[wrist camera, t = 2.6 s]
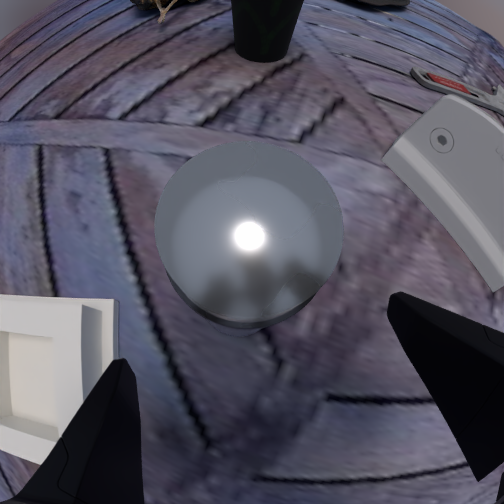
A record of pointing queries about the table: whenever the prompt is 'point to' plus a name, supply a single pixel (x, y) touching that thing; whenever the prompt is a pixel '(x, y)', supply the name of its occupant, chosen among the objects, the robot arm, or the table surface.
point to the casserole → (386, 2)
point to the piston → (248, 234)
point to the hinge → (458, 177)
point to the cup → (264, 27)
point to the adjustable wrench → (460, 89)
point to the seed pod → (155, 6)
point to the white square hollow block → (50, 366)
